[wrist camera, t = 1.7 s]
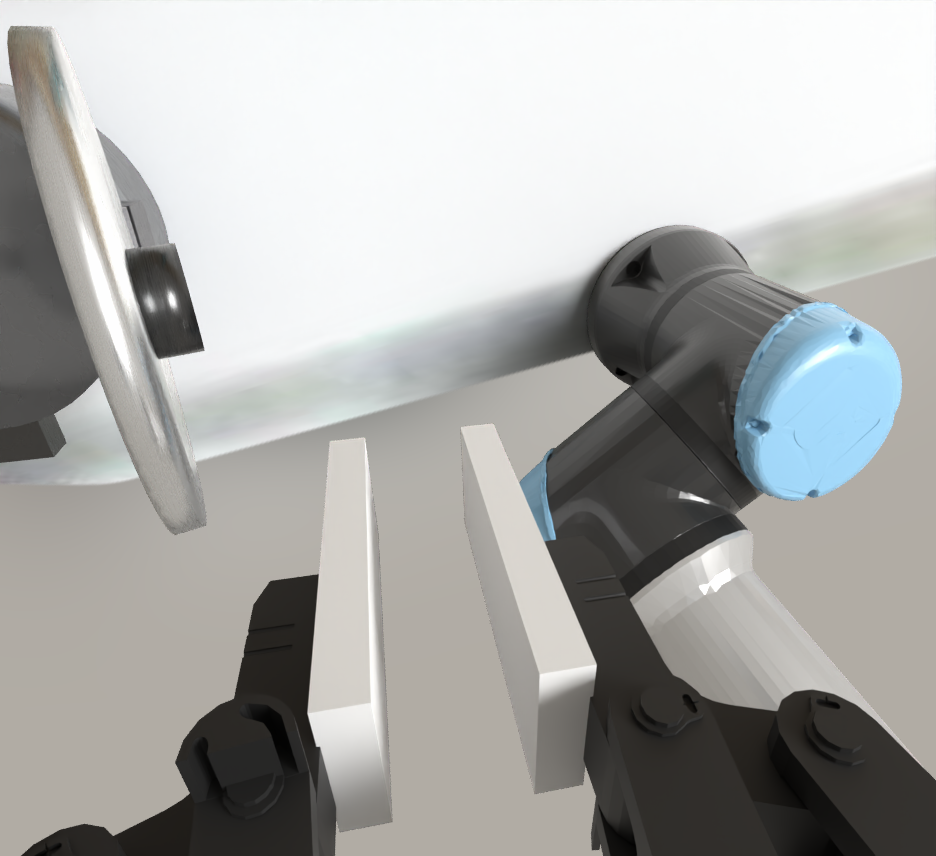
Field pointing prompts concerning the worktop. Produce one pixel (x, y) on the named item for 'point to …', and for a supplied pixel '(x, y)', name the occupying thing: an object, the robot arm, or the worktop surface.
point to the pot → (46, 295)
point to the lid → (111, 276)
